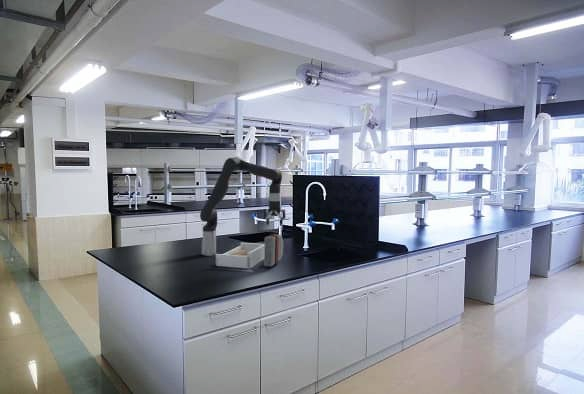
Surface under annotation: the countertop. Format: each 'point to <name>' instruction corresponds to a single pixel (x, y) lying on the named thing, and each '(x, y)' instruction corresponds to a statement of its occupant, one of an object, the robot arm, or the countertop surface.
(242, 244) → the white open box
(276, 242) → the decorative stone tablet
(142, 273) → the countertop surface
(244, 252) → the top offcut
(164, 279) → the countertop surface
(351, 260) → the countertop surface
